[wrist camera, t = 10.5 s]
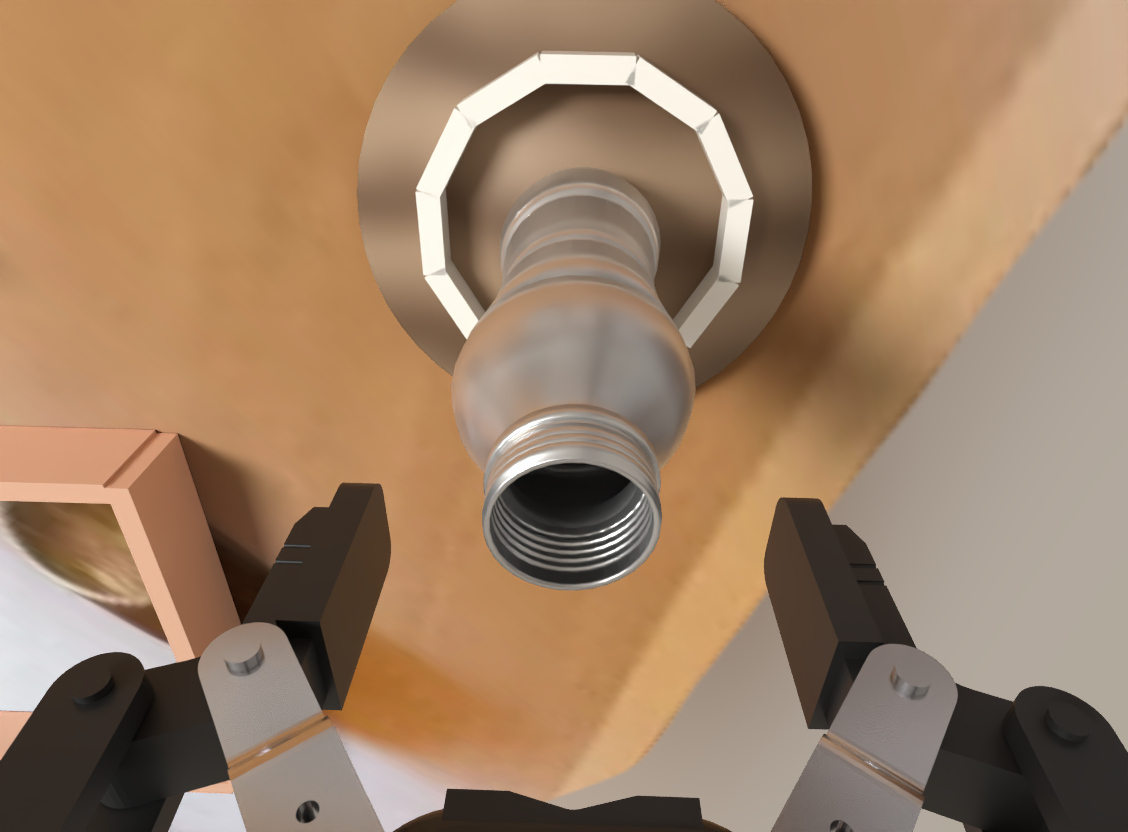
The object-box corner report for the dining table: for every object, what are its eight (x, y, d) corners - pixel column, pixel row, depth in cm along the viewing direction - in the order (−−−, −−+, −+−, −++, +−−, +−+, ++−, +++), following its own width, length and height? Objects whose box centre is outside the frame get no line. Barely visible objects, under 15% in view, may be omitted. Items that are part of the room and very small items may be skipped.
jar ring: (410, 47, 27) (402, 51, 26) (767, 55, 27) (775, 58, 26) (438, 363, 35) (432, 377, 34) (718, 370, 35) (724, 385, 33)
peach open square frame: (-307, 417, 39) (-415, 470, 35) (176, 430, 39) (126, 485, 35) (-78, 718, 54) (-134, 781, 50) (276, 729, 53) (249, 794, 49)
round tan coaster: (331, -44, 27) (321, -45, 26) (851, -34, 27) (862, -35, 26) (391, 400, 38) (386, 412, 37) (764, 410, 37) (768, 423, 36)
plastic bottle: (677, 262, 32) (782, 581, 15) (545, 321, 34) (504, 668, 17) (619, 126, 29) (669, 330, 12) (477, 198, 31) (342, 469, 14)
